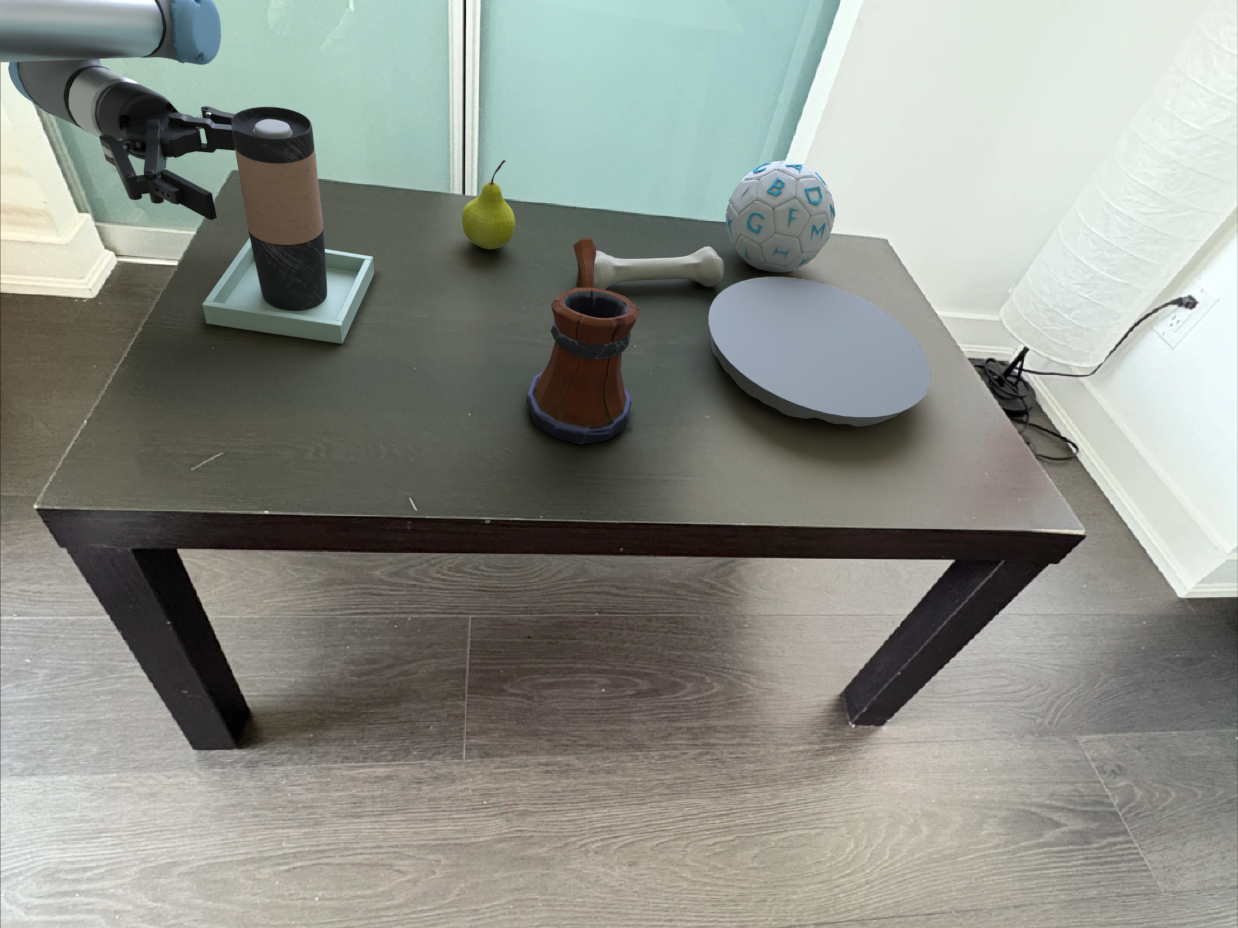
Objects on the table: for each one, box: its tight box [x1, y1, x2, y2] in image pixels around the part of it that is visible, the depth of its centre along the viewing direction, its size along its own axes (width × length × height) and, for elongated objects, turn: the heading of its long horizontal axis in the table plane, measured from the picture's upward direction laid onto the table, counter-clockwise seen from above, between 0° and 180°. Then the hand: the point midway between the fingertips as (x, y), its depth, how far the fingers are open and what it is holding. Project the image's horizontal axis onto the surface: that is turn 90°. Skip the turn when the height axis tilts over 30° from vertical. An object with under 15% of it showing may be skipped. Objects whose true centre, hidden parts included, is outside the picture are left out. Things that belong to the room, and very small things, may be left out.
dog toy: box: [594, 245, 725, 290], centre depth 106 cm, size 20×6×5 cm, turn 108°
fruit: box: [461, 159, 516, 250], centre depth 103 cm, size 7×7×12 cm
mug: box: [526, 237, 640, 445], centre depth 84 cm, size 18×12×15 cm, turn 6°
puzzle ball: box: [725, 160, 836, 273], centre depth 112 cm, size 15×15×15 cm
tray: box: [201, 237, 375, 345], centre depth 91 cm, size 15×15×2 cm
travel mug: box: [231, 106, 327, 311], centre depth 85 cm, size 8×8×20 cm
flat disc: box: [708, 276, 932, 428], centre depth 98 cm, size 28×28×4 cm
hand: (265, 185), depth 84 cm, fingers open, 13 cm apart
